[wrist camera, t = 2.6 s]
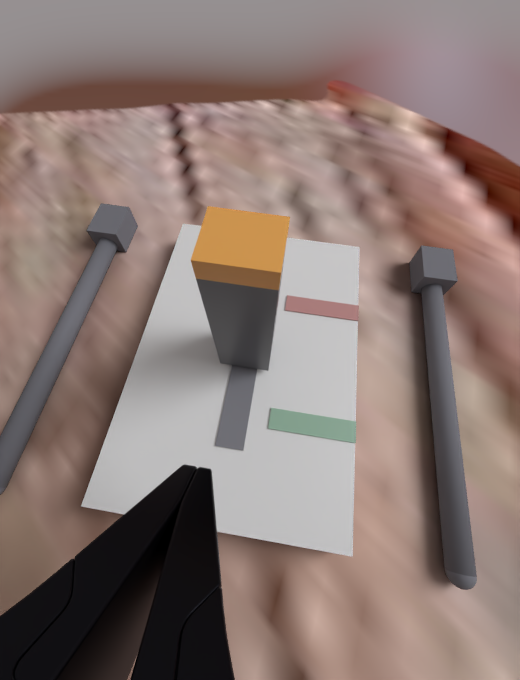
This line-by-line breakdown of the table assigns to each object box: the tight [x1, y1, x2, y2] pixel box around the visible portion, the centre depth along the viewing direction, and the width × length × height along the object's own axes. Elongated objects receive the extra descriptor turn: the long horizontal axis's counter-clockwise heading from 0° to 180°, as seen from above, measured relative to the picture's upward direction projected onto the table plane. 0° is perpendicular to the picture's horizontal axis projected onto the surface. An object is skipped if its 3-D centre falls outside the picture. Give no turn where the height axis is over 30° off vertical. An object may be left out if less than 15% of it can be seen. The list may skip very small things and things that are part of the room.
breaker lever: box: [191, 206, 290, 371], centre depth 15 cm, size 2×3×10 cm
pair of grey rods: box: [0, 204, 477, 590], centre depth 20 cm, size 22×28×2 cm
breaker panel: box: [81, 224, 359, 557], centre depth 20 cm, size 20×14×2 cm
